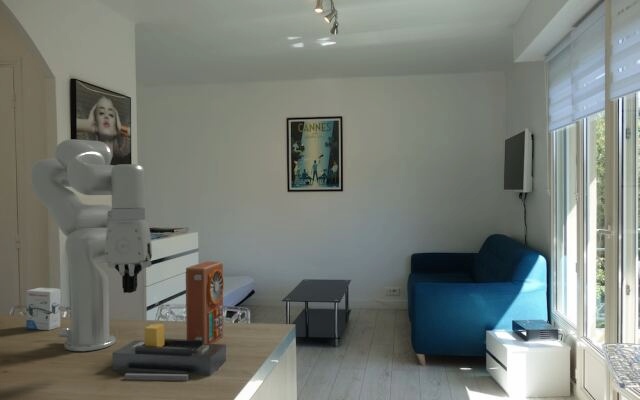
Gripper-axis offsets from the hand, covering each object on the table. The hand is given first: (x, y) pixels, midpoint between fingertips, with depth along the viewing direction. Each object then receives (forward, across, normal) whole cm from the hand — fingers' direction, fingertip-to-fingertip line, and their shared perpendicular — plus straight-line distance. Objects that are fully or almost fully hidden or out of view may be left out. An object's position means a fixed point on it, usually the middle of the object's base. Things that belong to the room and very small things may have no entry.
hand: (130, 291), depth 122 cm
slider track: (+18, +10, 0) cm, 20 cm away
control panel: (+18, +11, +19) cm, 28 cm away
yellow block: (+13, +6, 0) cm, 15 cm away
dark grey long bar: (+18, +9, -7) cm, 21 cm away
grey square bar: (+18, +11, -9) cm, 22 cm away
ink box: (+17, -44, +26) cm, 54 cm away
